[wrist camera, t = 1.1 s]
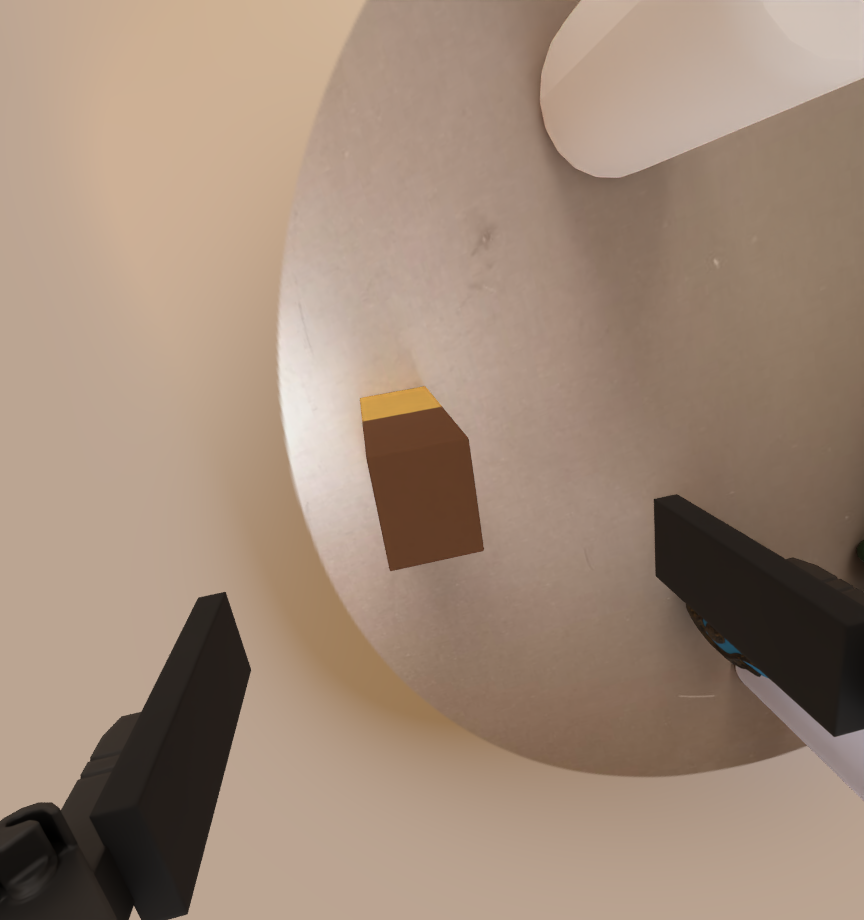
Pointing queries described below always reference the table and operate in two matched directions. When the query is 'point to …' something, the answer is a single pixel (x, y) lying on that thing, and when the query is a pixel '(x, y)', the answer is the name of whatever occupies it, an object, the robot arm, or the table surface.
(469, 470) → the sponge
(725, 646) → the ornament
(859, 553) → the toy figurine
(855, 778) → the spray bottle
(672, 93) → the white plastic cylinder
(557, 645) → the table surface
